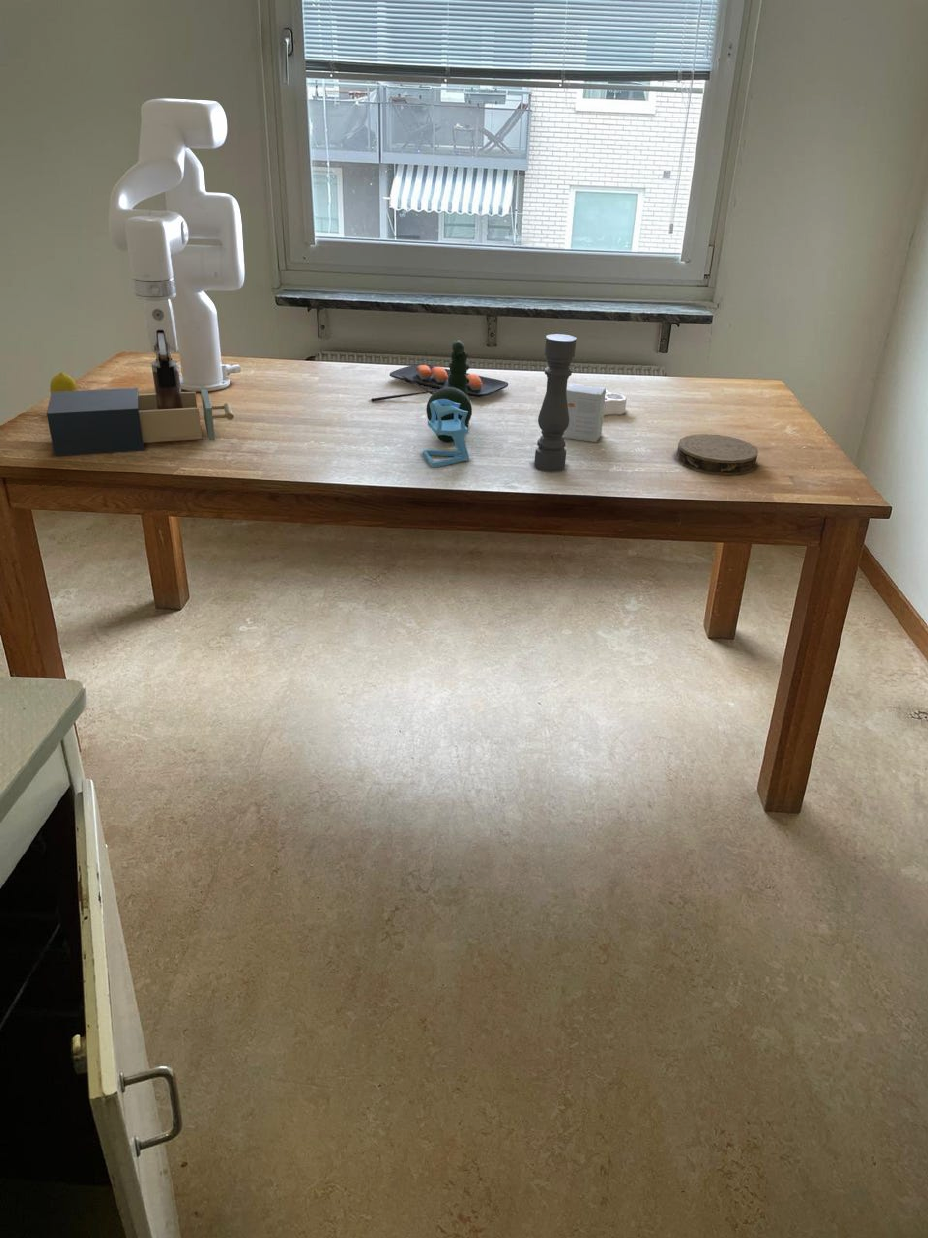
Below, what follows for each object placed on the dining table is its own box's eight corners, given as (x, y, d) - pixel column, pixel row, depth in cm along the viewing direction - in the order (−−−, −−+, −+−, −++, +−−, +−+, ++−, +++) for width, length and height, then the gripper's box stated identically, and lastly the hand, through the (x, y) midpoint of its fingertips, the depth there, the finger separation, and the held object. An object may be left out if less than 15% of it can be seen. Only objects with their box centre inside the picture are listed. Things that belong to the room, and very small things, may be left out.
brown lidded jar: (176, 408, 185) (170, 358, 180) (188, 415, 182) (182, 363, 177) (154, 413, 182) (146, 361, 177) (165, 420, 179) (158, 367, 174)
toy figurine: (436, 421, 204) (420, 448, 182) (439, 335, 196) (423, 352, 174) (477, 424, 204) (466, 452, 181) (482, 338, 196) (471, 356, 173)
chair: (472, 464, 177) (475, 405, 171) (431, 467, 174) (433, 407, 168) (461, 451, 183) (463, 393, 177) (422, 454, 181) (423, 395, 175)
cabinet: (143, 427, 188) (137, 387, 184) (144, 450, 177) (138, 408, 172) (59, 432, 184) (51, 391, 179) (54, 455, 172) (46, 413, 168)
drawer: (230, 419, 192) (227, 388, 189) (236, 438, 182) (233, 406, 178) (134, 424, 187) (129, 392, 184) (134, 445, 176) (129, 412, 173)
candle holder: (531, 460, 180) (542, 333, 168) (562, 460, 181) (574, 334, 168) (536, 471, 175) (547, 341, 162) (567, 471, 175) (581, 341, 163)
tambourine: (707, 478, 175) (710, 464, 174) (661, 452, 188) (663, 438, 186) (771, 469, 181) (774, 455, 179) (722, 444, 193) (725, 431, 192)
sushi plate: (512, 390, 223) (513, 375, 221) (446, 419, 201) (447, 402, 199) (417, 369, 236) (417, 355, 234) (345, 395, 214) (345, 379, 212)
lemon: (85, 406, 199) (79, 370, 195) (73, 413, 194) (67, 376, 190) (61, 404, 199) (54, 368, 195) (49, 411, 195) (42, 375, 190)
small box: (601, 435, 195) (607, 387, 190) (596, 443, 191) (602, 394, 186) (566, 430, 198) (570, 382, 192) (560, 437, 193) (564, 389, 188)
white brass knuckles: (618, 400, 219) (629, 418, 207) (545, 397, 218) (551, 416, 206) (619, 386, 218) (631, 404, 205) (546, 384, 217) (553, 402, 204)
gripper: (177, 297, 164) (189, 394, 173) (173, 278, 177) (184, 369, 187) (134, 298, 162) (148, 396, 171) (133, 279, 175) (146, 371, 185)
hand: (167, 381), depth 179 cm, fingers closed on brown lidded jar, 5 cm apart
